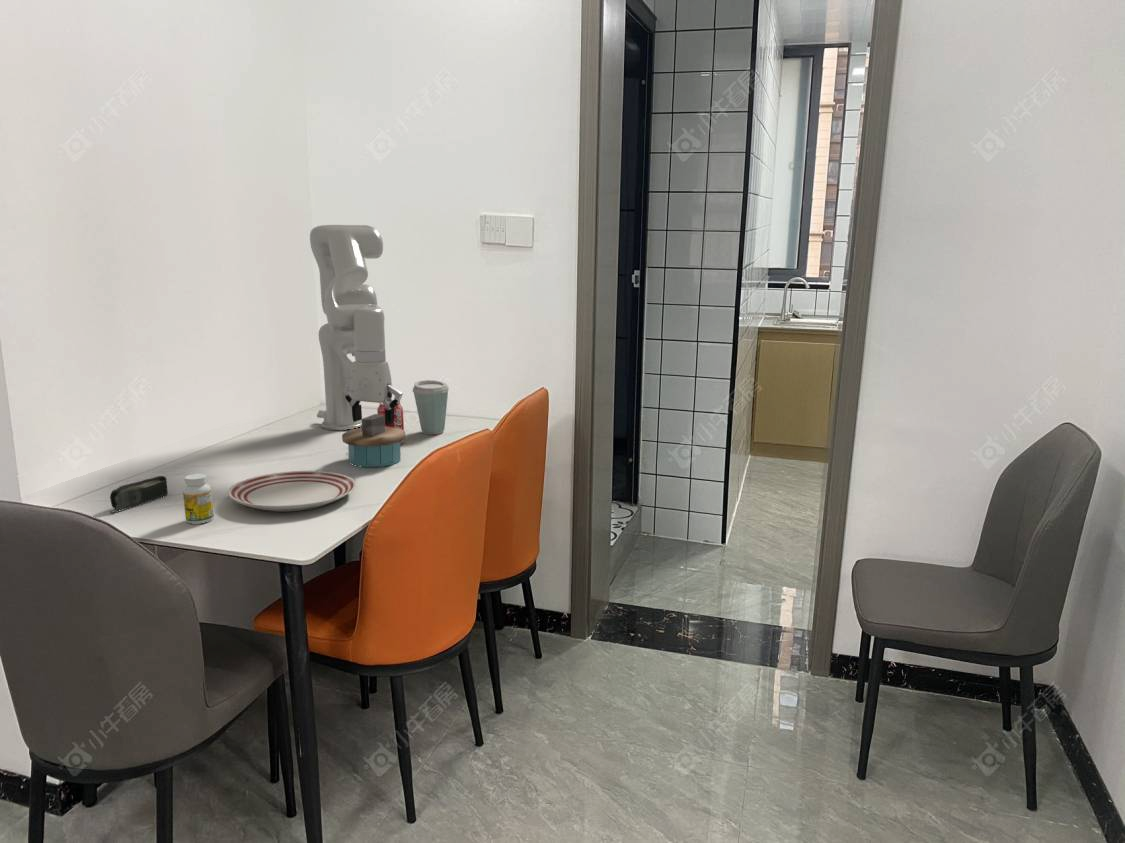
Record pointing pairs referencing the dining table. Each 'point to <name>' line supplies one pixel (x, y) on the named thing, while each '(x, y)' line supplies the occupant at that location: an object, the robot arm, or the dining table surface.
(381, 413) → the soda can
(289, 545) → the dining table surface
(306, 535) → the dining table surface
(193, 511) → the supplement bottle
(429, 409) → the disposable coffee cup
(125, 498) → the black long rounded block
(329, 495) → the dinner plate
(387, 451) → the bowl
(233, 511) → the dining table surface
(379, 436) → the lid
